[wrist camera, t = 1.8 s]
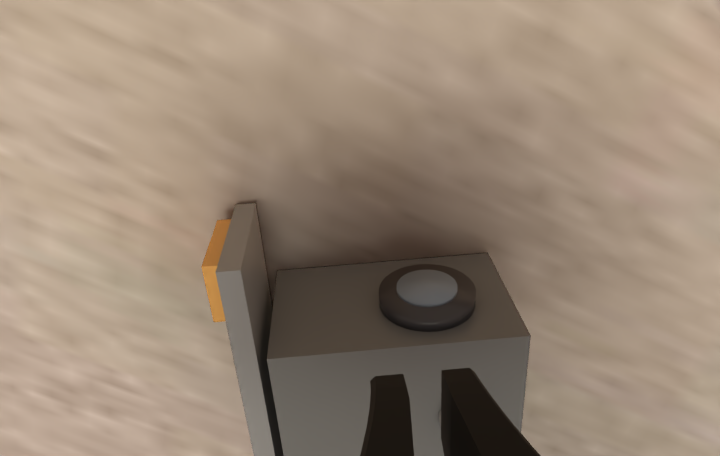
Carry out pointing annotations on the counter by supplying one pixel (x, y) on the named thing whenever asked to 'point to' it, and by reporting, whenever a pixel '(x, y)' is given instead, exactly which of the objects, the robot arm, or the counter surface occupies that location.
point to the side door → (245, 317)
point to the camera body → (388, 346)
